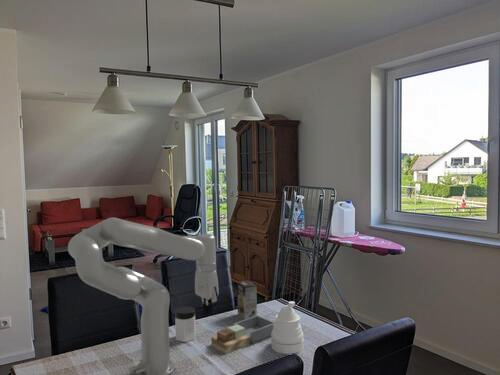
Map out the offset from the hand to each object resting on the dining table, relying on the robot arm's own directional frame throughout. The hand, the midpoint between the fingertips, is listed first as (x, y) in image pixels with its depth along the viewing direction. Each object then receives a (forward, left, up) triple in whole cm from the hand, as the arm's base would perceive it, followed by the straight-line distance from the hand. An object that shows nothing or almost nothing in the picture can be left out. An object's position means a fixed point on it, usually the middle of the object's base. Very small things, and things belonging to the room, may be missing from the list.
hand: (208, 313), depth 152 cm
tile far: (+14, 0, -13) cm, 19 cm away
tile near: (+8, 0, -13) cm, 15 cm away
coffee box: (+35, +18, -16) cm, 42 cm away
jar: (+1, +18, -16) cm, 24 cm away
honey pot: (+26, -17, -16) cm, 35 cm away
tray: (+24, 0, -16) cm, 28 cm away
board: (+11, 0, -16) cm, 19 cm away
